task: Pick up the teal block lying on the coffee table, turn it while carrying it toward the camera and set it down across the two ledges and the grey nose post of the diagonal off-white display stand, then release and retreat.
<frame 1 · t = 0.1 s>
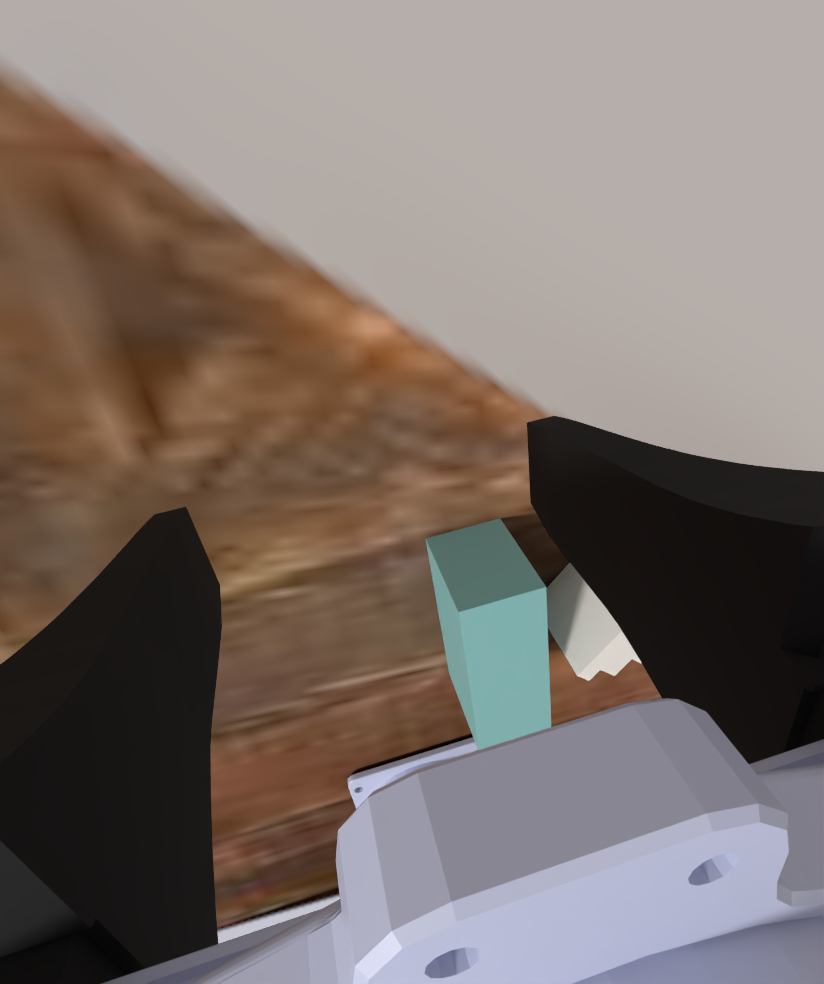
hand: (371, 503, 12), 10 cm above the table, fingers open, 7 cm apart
display stand: (636, 612, 31), on the table
teal block: (471, 600, 28), on the table
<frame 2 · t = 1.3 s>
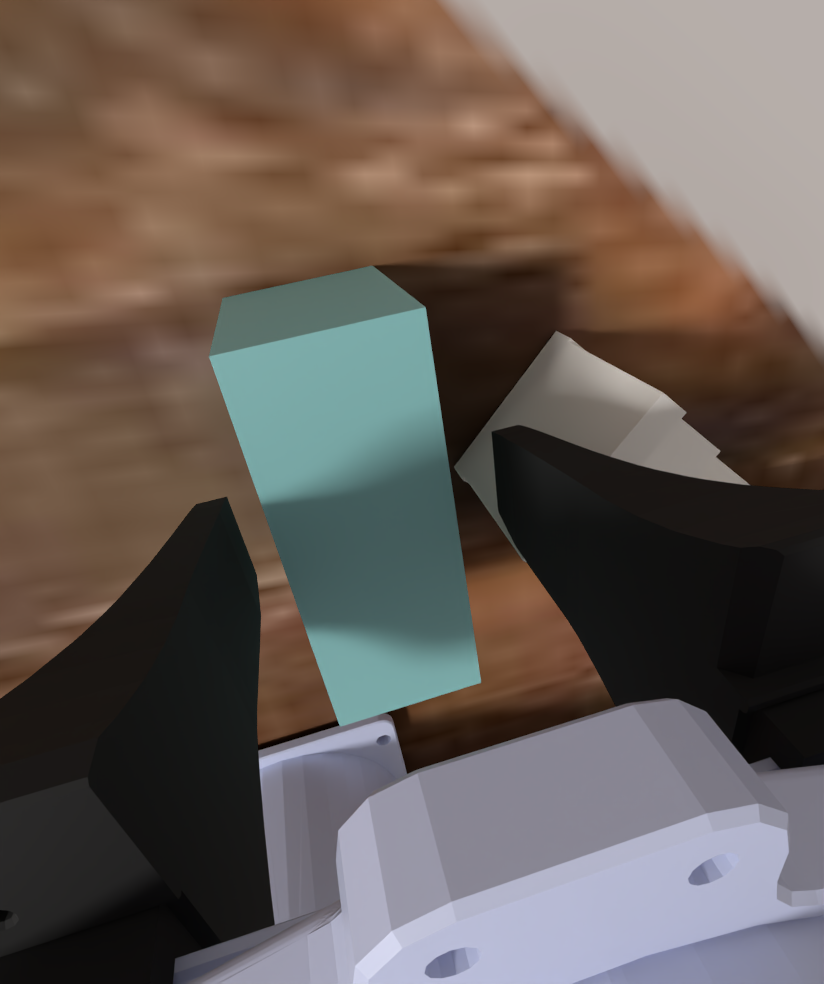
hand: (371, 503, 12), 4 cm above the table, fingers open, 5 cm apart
display stand: (639, 495, 19), on the table
teal block: (341, 451, 16), on the table
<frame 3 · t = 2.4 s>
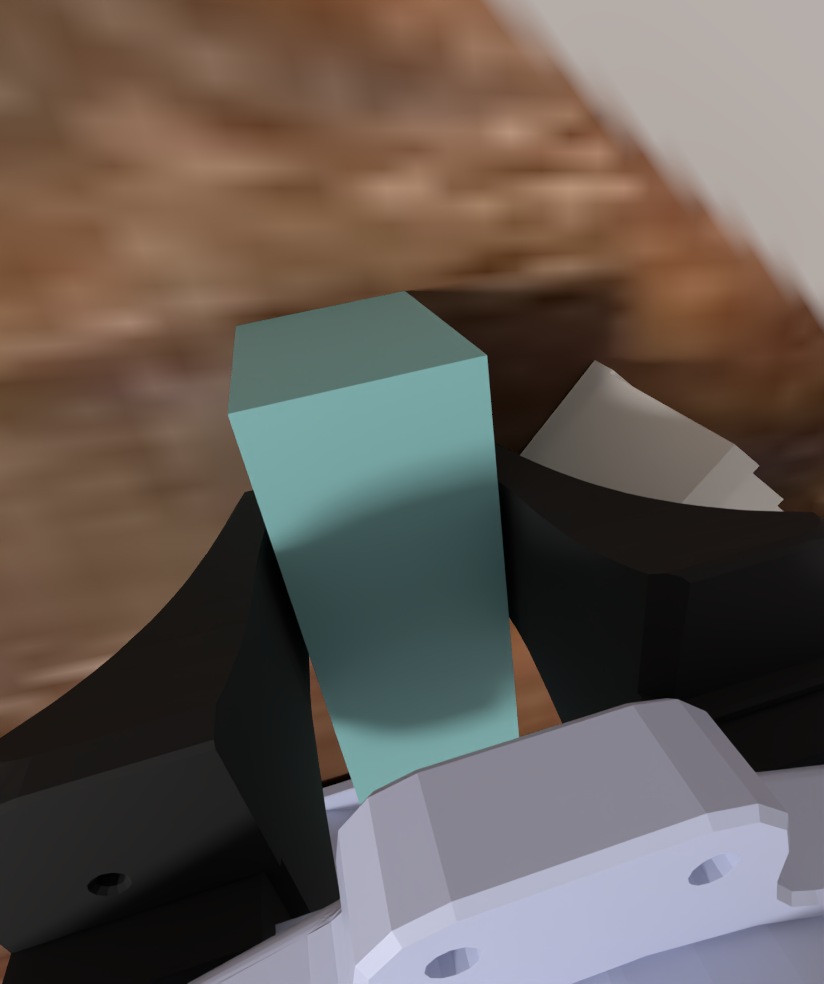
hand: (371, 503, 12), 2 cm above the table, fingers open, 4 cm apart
display stand: (677, 534, 17), on the table
teal block: (363, 493, 14), on the table
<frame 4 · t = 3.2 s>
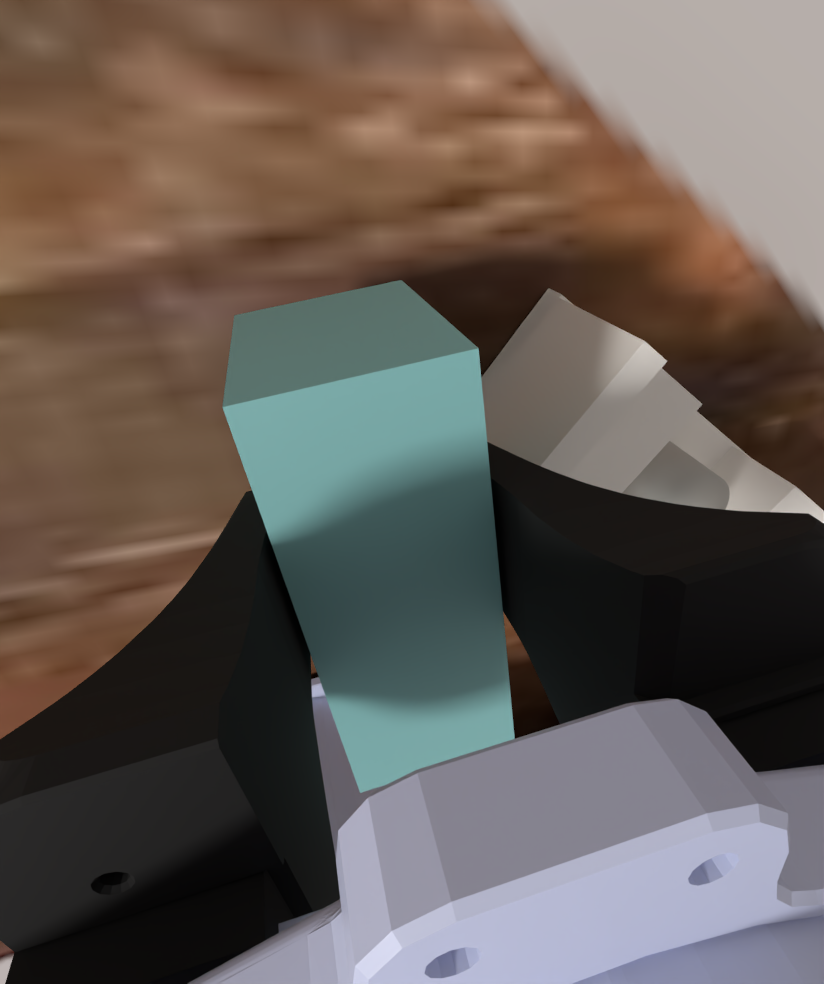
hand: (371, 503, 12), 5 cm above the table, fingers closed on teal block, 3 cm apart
display stand: (628, 453, 19), on the table
teal block: (362, 481, 14), point 3 cm above the table, touching gripper
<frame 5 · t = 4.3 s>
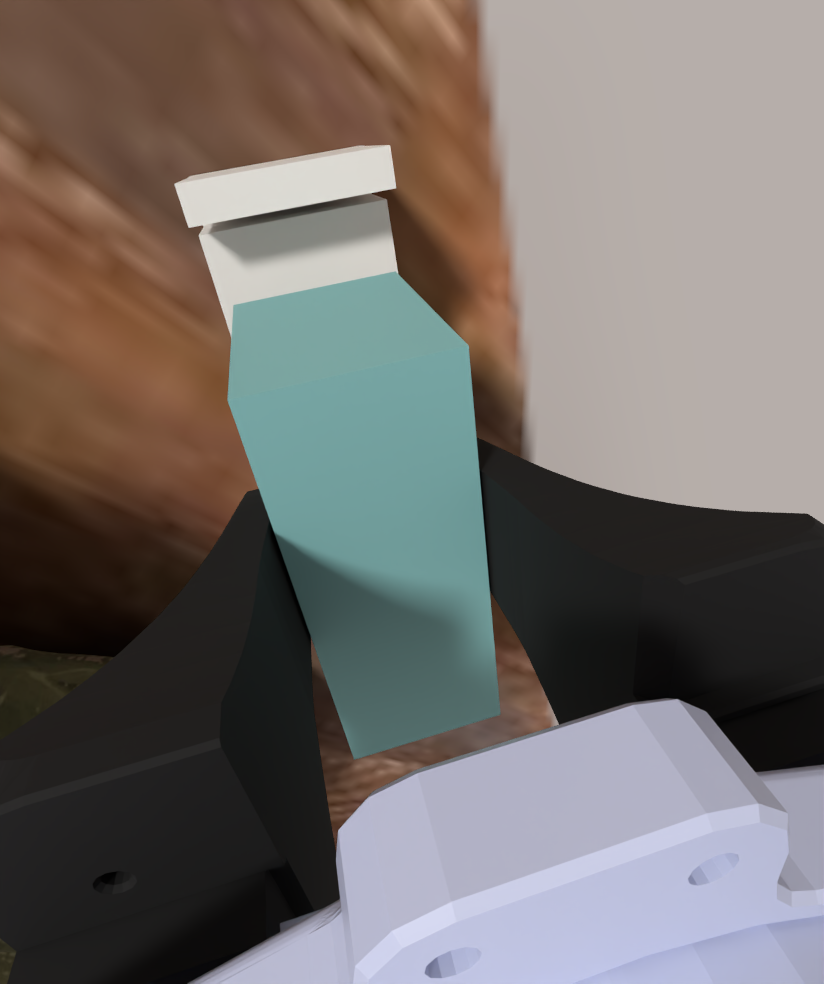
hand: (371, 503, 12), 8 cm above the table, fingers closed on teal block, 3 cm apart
decorative rock: (87, 719, 24), on the table
display stand: (327, 375, 19), on the table
teal block: (356, 465, 15), point 5 cm above the table, touching gripper
when the fingers open (6 cm above the table, at t = 5.4 s): teal block stays where it is, resting on display stand.
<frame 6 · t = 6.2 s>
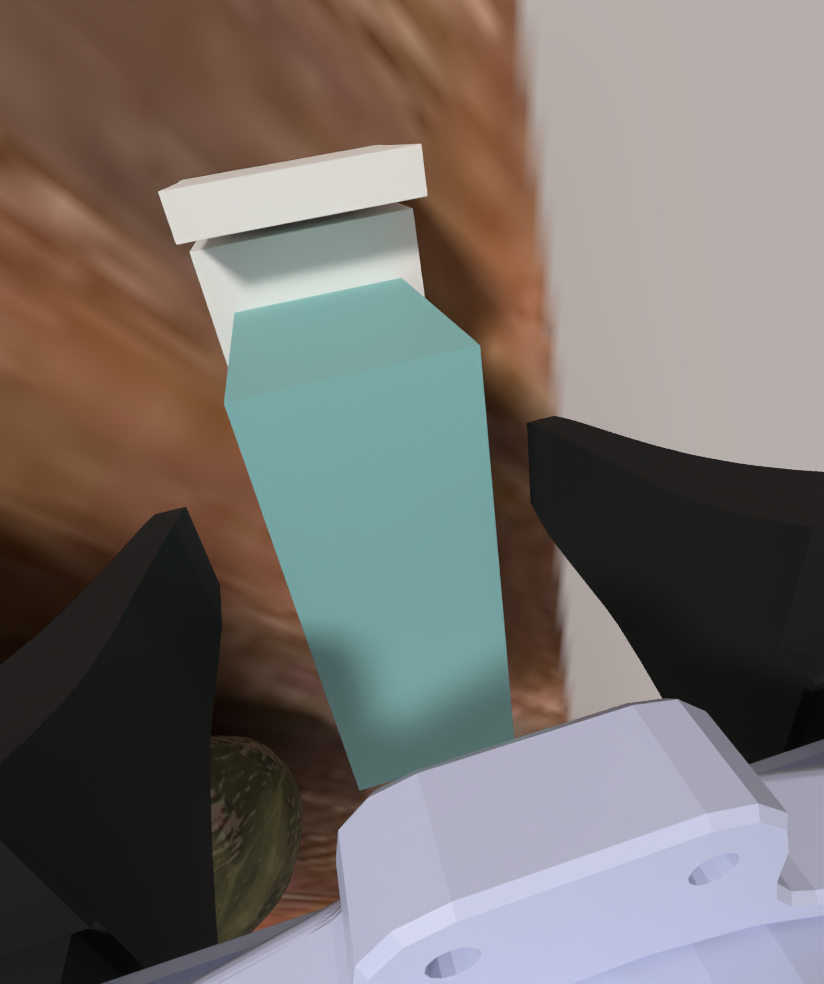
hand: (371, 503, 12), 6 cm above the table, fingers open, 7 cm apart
decorative rock: (73, 774, 22), on the table
display stand: (338, 403, 17), on the table
teal block: (361, 479, 14), point 3 cm above the table, touching display stand
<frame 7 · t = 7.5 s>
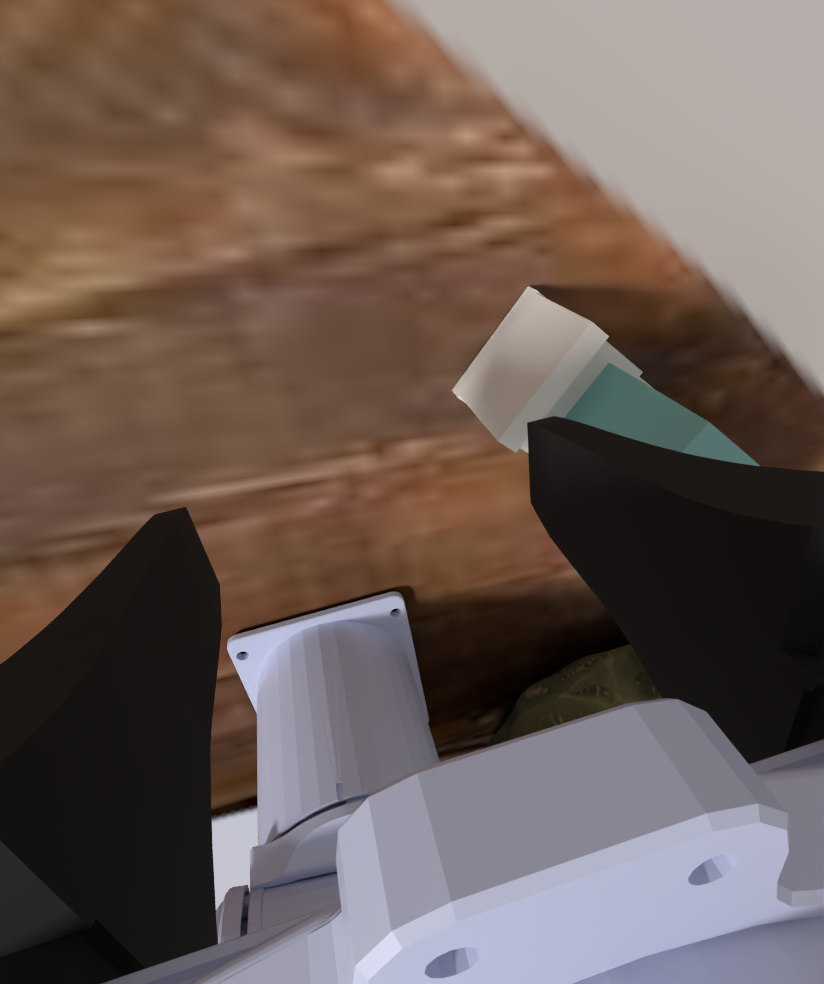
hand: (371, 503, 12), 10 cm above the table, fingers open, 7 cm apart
decorative rock: (578, 693, 34), on the table
display stand: (595, 418, 24), on the table
teal block: (652, 463, 22), point 3 cm above the table, touching display stand
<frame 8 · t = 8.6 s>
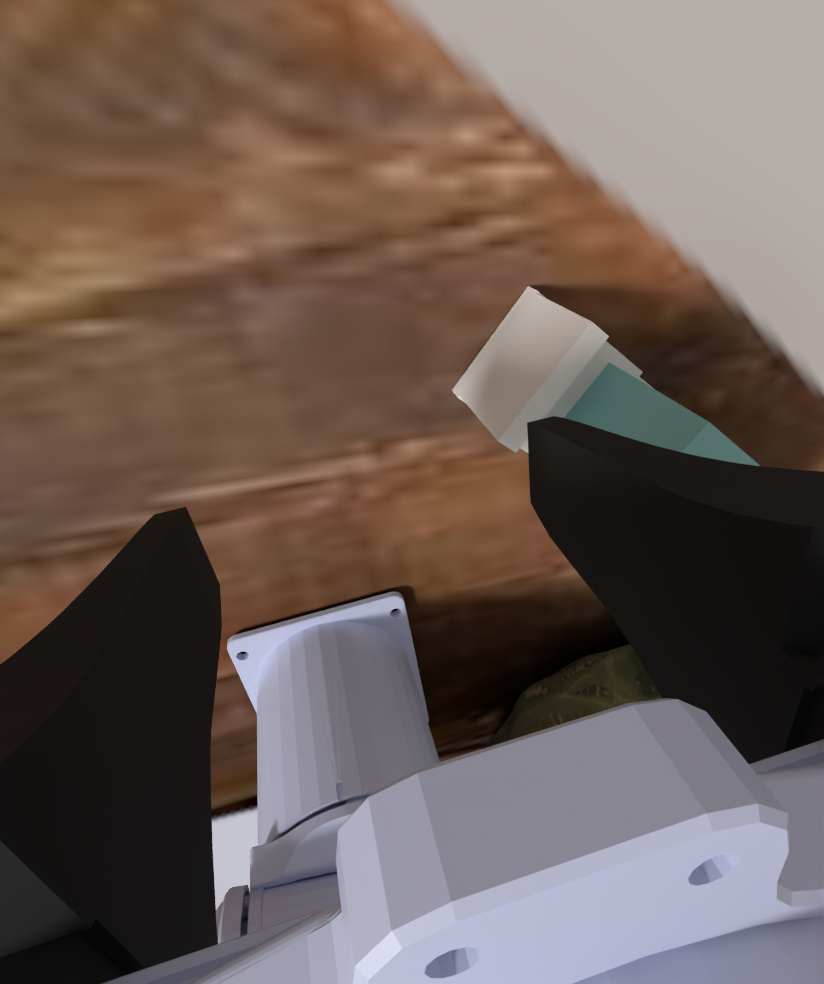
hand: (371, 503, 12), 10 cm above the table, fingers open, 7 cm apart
decorative rock: (578, 693, 34), on the table
display stand: (595, 418, 24), on the table
teal block: (652, 463, 22), point 3 cm above the table, touching display stand
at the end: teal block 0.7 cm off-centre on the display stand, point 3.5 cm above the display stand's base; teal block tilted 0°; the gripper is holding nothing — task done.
